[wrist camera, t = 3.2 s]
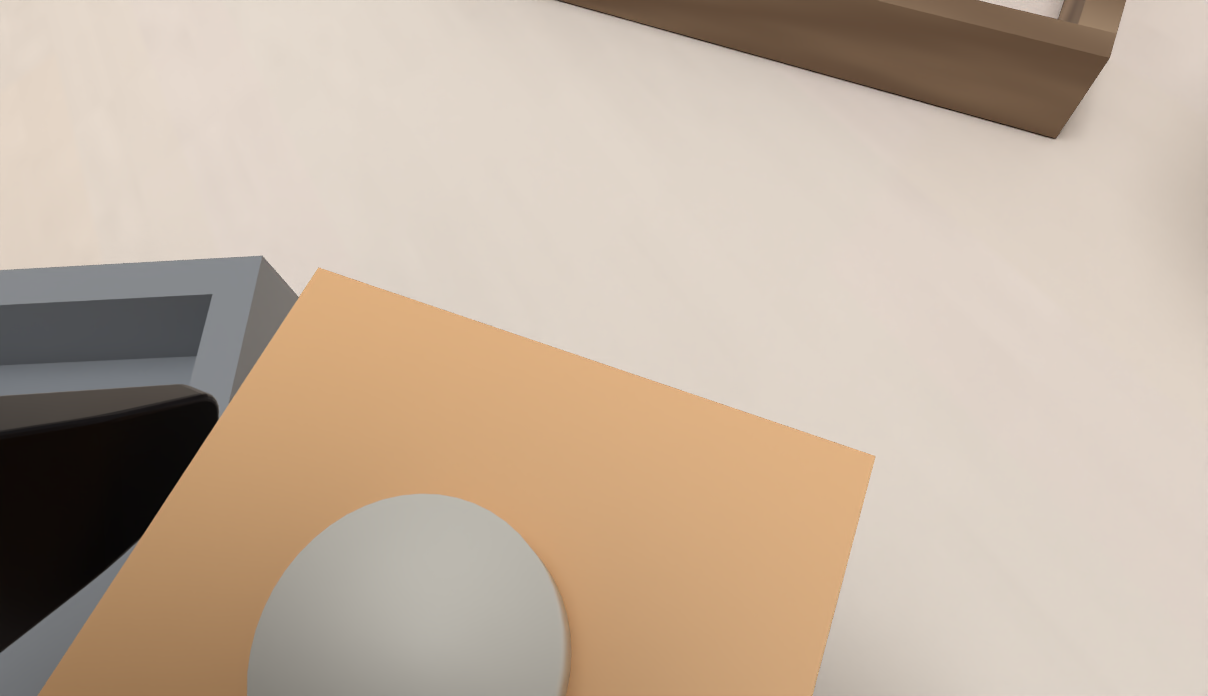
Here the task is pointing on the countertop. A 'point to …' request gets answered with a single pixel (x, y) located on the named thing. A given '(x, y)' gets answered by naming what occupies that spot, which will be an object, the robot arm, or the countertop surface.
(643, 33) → the countertop surface
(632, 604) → the copper cell
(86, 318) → the bin
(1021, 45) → the wooden tray
